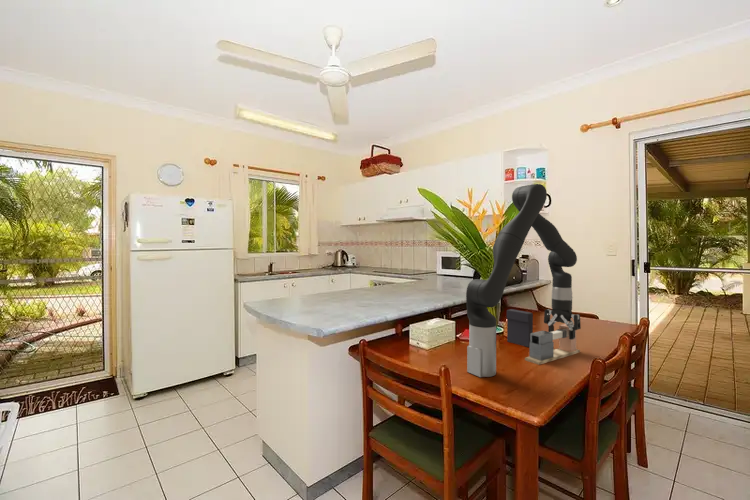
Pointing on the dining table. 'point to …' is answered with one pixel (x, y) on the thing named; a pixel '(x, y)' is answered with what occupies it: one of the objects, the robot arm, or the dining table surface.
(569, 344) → the socket
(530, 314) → the dark gray lidded box
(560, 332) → the slip tube
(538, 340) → the sleeve
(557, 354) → the base board
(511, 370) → the dining table surface
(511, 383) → the dining table surface
